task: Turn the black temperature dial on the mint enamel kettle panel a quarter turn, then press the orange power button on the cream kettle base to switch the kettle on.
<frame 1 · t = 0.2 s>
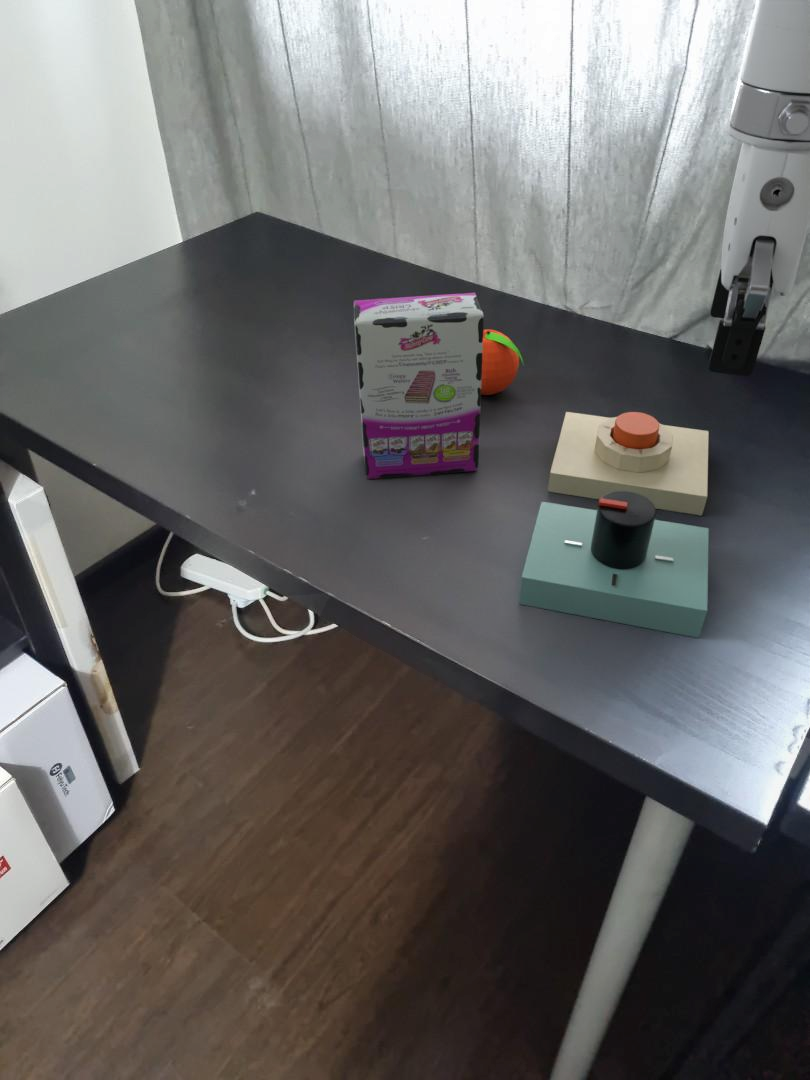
hand: (729, 343, 67), 16 cm above the table, tool pointing down, fingers open, 9 cm apart
dial panel: (612, 578, 69), on the table
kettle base: (628, 469, 80), on the table
candy bar box: (418, 463, 82), on the table
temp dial: (622, 528, 65), point 5 cm above the table, hinge at 0.0°
clementine: (489, 393, 92), on the table
power button: (635, 430, 77), point 4 cm above the table, slide at 0.1 cm
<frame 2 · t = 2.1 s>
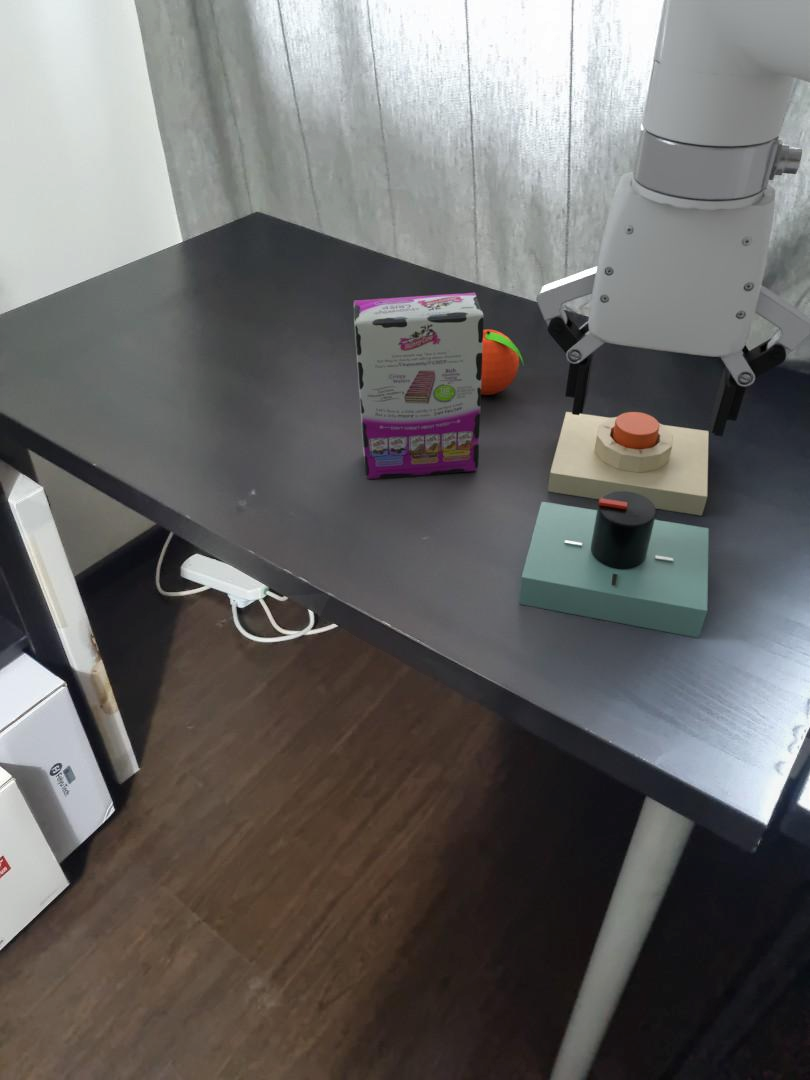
hand: (646, 415, 59), 15 cm above the table, tool pointing down, fingers open, 9 cm apart
nothing on the table moved.
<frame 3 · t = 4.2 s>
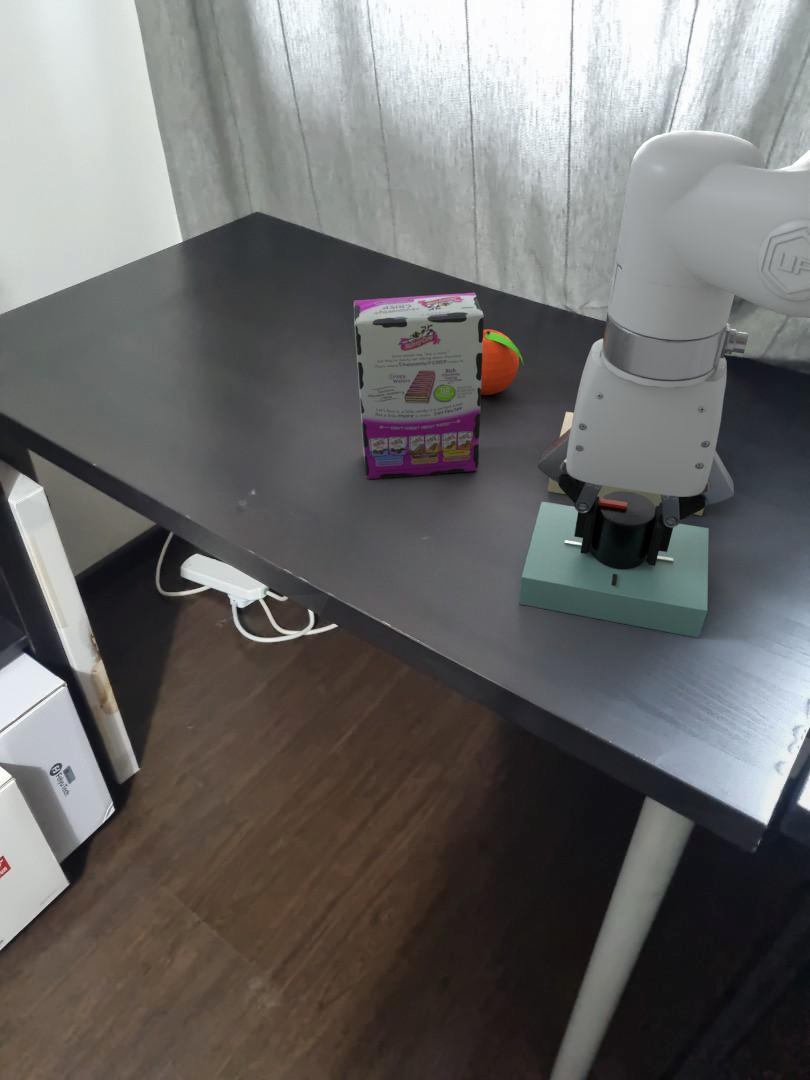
hand: (619, 546, 66), 4 cm above the table, tool pointing down, fingers closed on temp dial, 4 cm apart
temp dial: (622, 528, 65), point 5 cm above the table, hinge at 0.1°, touching gripper
everything else where it was.
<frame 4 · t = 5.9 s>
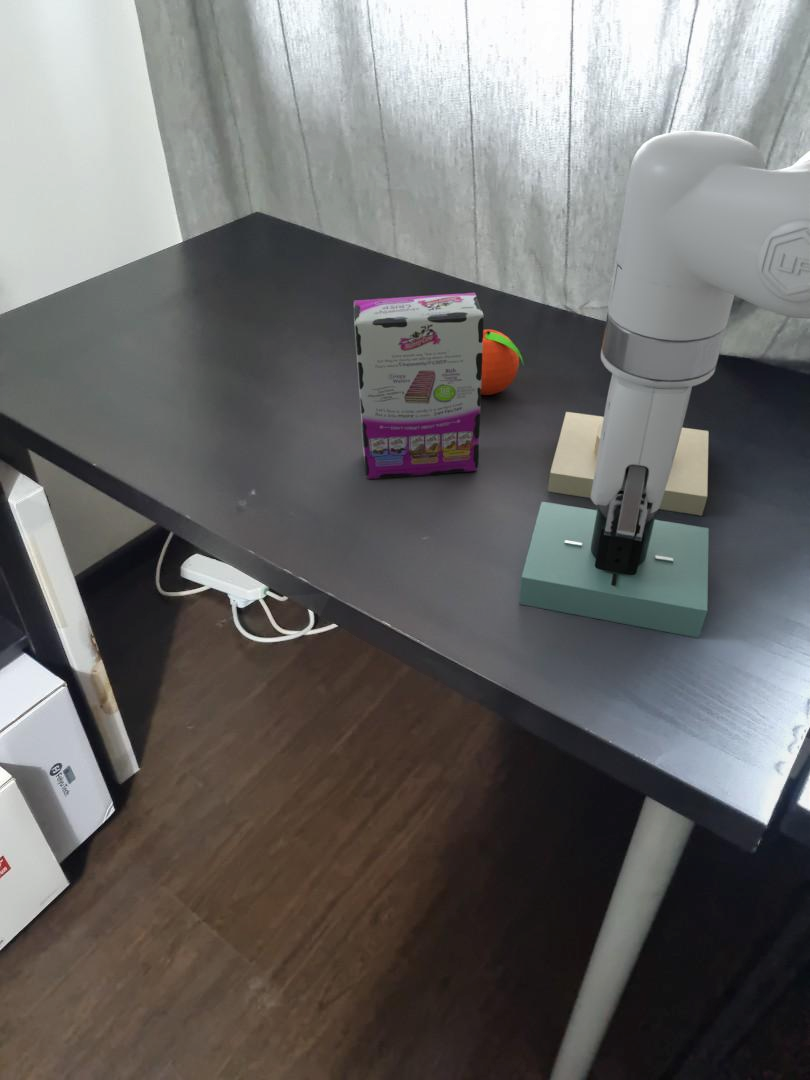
hand: (618, 546, 66), 4 cm above the table, tool pointing down, fingers closed on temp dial, 4 cm apart
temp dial: (622, 528, 65), point 5 cm above the table, hinge at 90.3°, touching gripper
everything else where it was.
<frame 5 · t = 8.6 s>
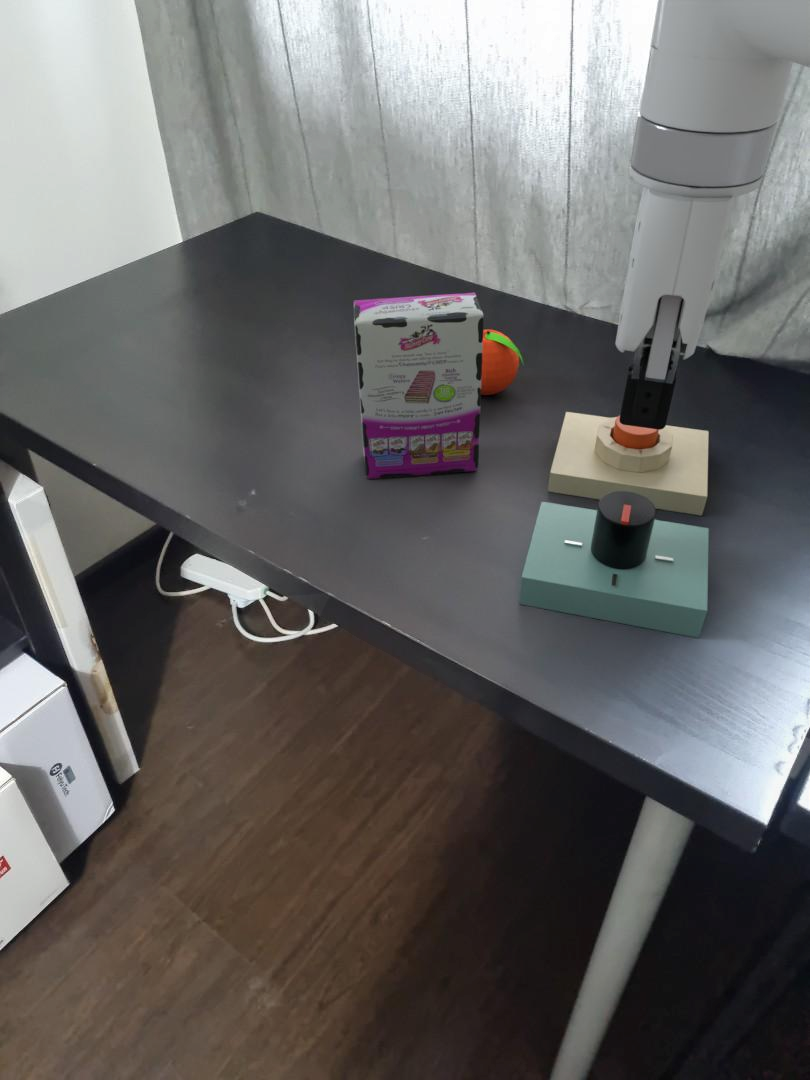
hand: (642, 420, 60), 15 cm above the table, tool pointing down, fingers closed
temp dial: (622, 528, 65), point 5 cm above the table, hinge at 88.9°
everything else where it was.
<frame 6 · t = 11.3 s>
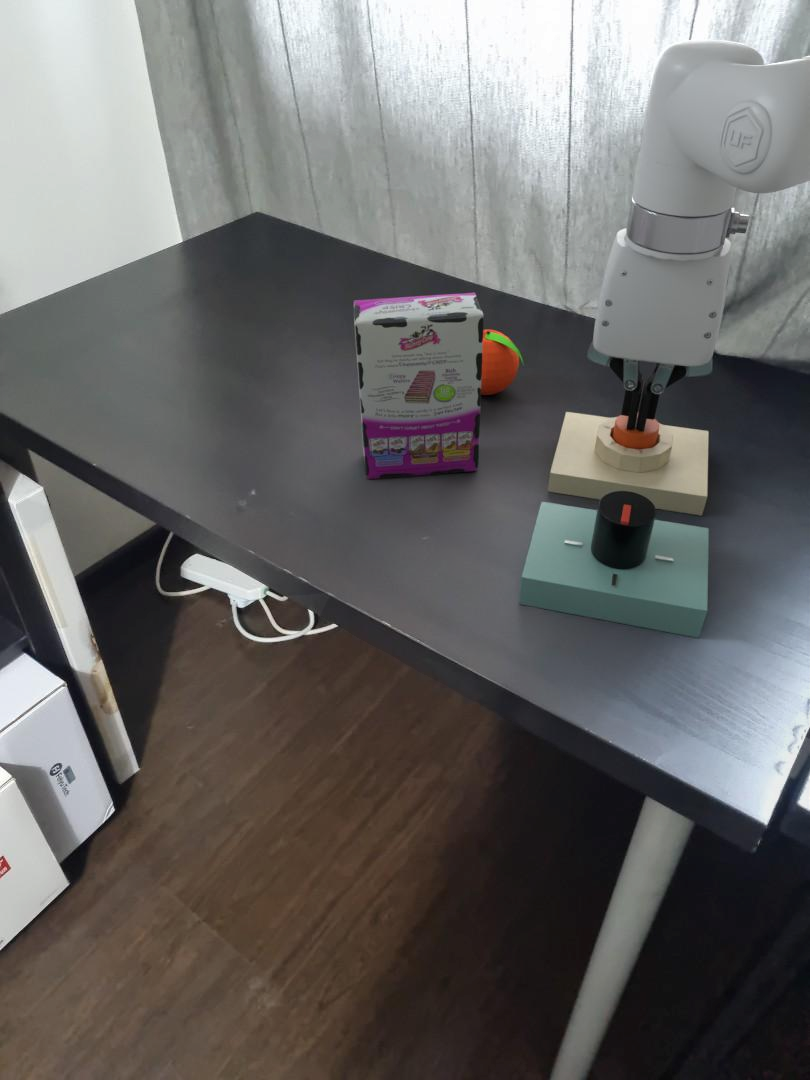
hand: (636, 422, 77), 5 cm above the table, tool pointing down, fingers closed
power button: (635, 431, 77), point 4 cm above the table, slide at 0.1 cm, touching gripper
everything else where it was.
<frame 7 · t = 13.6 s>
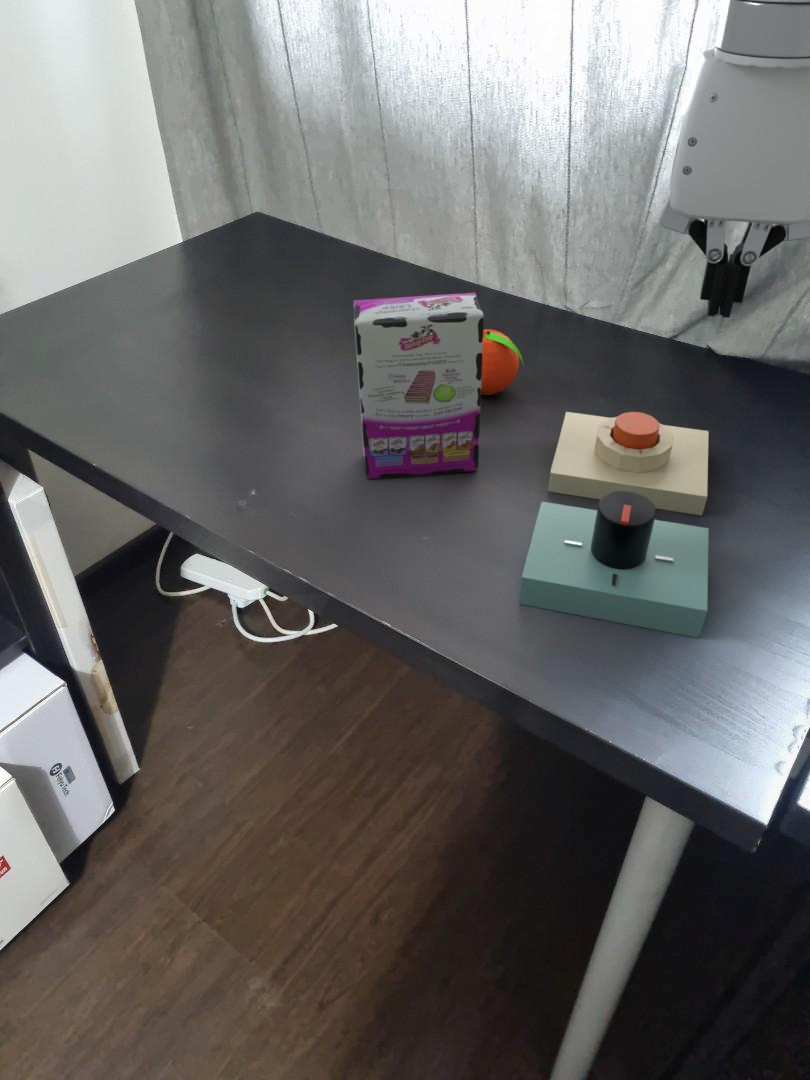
hand: (718, 309, 63), 19 cm above the table, tool pointing down, fingers closed
power button: (635, 430, 77), point 4 cm above the table, slide at 0.1 cm
everything else where it was.
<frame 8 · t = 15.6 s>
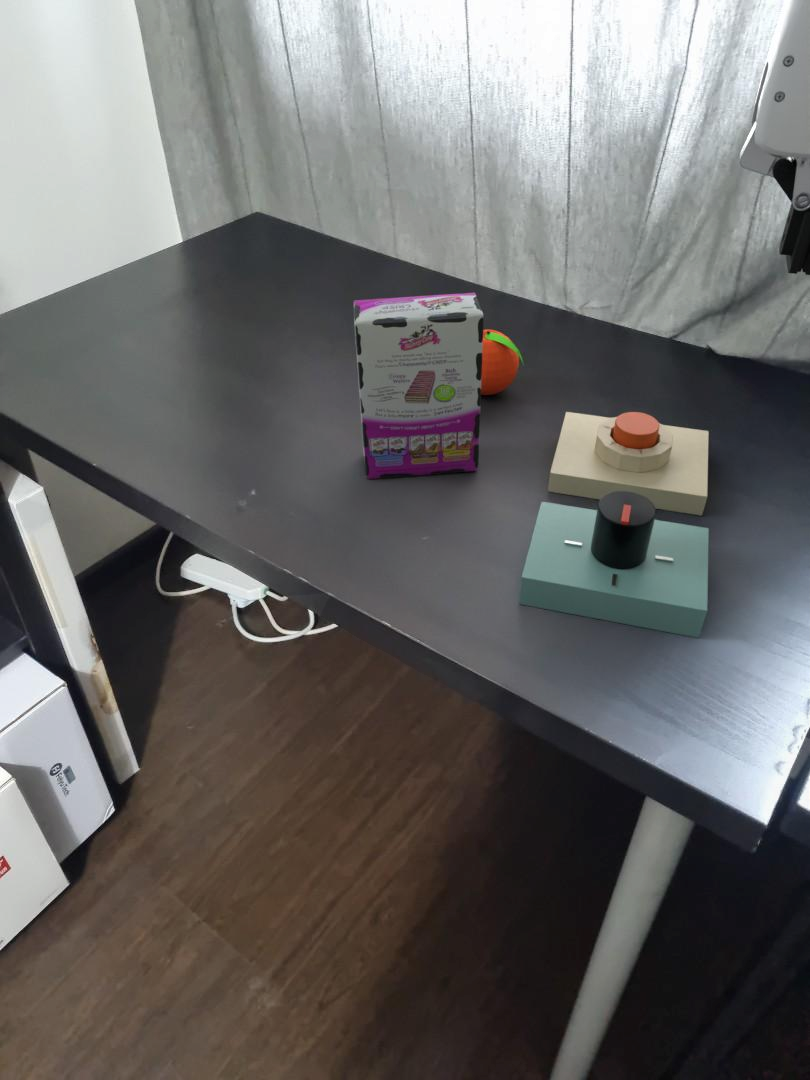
hand: (799, 266, 55), 25 cm above the table, tool pointing down, fingers closed
nothing on the table moved.
at the end: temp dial at +89° (first picture: +0°); power button pushed in 1.1 cm at the most during the clip, back to where it started at the end; power button slide at 0.1 cm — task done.
